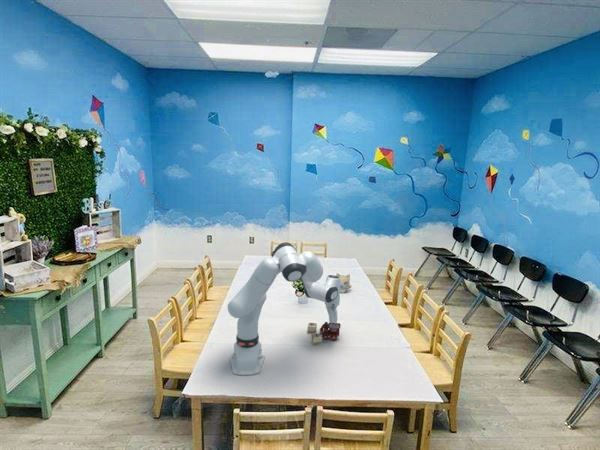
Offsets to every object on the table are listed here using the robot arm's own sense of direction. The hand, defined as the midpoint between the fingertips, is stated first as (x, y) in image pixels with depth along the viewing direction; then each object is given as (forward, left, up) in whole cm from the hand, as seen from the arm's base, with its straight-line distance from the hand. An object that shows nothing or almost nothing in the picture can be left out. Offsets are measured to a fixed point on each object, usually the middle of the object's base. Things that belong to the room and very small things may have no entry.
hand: (330, 322), depth 230 cm
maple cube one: (-6, +9, -11) cm, 15 cm away
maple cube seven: (+7, +10, -11) cm, 16 cm away
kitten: (+68, -21, -11) cm, 72 cm away
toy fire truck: (0, 0, -11) cm, 11 cm away
